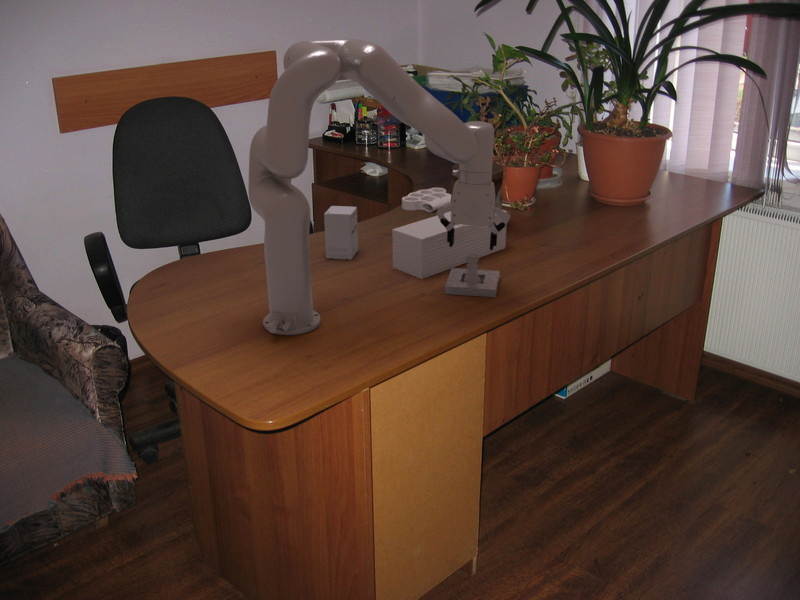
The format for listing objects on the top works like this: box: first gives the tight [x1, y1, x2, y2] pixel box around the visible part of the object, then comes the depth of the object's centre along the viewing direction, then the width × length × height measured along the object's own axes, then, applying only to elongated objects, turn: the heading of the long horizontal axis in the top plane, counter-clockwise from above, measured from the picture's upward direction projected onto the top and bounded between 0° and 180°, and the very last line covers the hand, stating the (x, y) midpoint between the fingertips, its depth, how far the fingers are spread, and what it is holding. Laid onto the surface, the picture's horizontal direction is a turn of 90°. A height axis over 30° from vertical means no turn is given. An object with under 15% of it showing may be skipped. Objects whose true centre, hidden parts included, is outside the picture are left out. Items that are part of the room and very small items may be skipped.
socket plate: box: [444, 267, 501, 298], centre depth 200 cm, size 12×12×2 cm
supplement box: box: [323, 205, 359, 261], centre depth 219 cm, size 7×7×13 cm
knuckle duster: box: [401, 187, 451, 213], centre depth 262 cm, size 3×18×15 cm
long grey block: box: [391, 209, 508, 280], centre depth 216 cm, size 32×11×11 cm, turn 133°
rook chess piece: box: [463, 254, 482, 283], centre depth 199 cm, size 4×4×8 cm
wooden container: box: [450, 162, 504, 210], centre depth 236 cm, size 15×15×22 cm
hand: (471, 246), depth 196 cm, fingers open, 9 cm apart
